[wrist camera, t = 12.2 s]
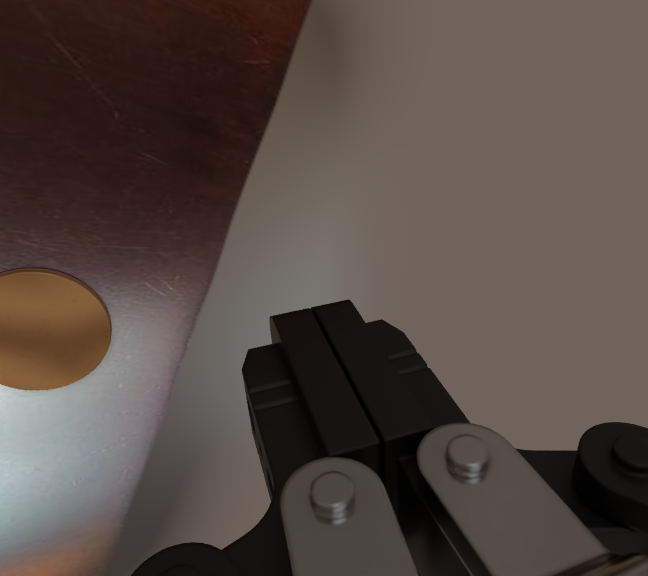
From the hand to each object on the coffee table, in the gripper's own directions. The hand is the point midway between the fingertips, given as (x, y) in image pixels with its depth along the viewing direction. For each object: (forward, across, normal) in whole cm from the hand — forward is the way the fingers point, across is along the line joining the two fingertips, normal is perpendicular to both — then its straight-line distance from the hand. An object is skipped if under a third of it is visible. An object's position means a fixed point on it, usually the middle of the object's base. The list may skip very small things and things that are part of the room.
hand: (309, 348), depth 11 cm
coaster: (+27, +12, +14) cm, 33 cm away
